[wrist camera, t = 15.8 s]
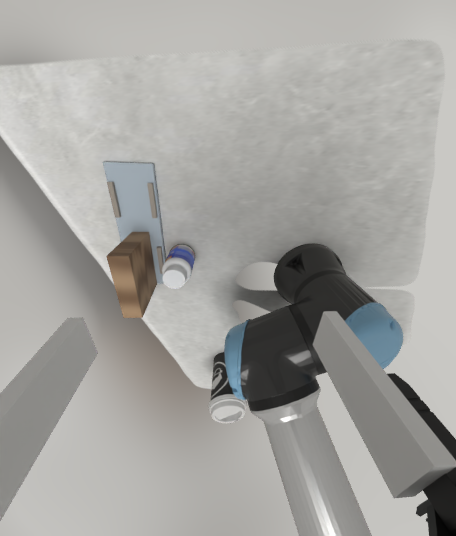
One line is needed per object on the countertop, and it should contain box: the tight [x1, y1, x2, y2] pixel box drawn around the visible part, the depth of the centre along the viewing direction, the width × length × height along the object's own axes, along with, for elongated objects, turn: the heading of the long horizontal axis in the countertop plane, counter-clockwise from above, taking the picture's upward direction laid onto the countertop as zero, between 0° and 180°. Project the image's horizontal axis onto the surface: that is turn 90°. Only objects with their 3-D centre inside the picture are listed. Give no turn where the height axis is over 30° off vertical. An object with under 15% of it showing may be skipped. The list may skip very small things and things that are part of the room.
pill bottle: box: [162, 245, 195, 289], centre depth 39 cm, size 5×5×10 cm
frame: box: [107, 232, 157, 318], centre depth 38 cm, size 12×3×11 cm, turn 178°
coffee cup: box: [208, 352, 247, 423], centre depth 55 cm, size 10×10×15 cm
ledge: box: [103, 162, 166, 283], centre depth 40 cm, size 8×24×2 cm, turn 178°
